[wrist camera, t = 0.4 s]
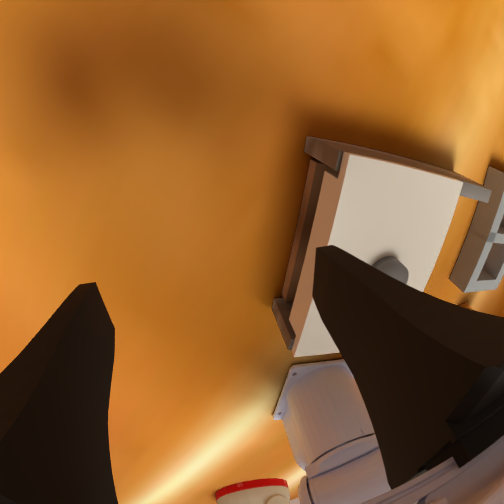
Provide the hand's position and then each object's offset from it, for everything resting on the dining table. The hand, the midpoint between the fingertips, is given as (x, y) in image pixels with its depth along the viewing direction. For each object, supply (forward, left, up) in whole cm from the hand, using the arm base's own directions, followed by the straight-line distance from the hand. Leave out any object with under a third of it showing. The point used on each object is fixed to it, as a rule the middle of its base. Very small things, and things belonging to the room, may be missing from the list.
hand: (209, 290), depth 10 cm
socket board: (0, -28, -10) cm, 30 cm away
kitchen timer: (-55, -11, -10) cm, 57 cm away
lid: (-2, -11, -7) cm, 13 cm away
